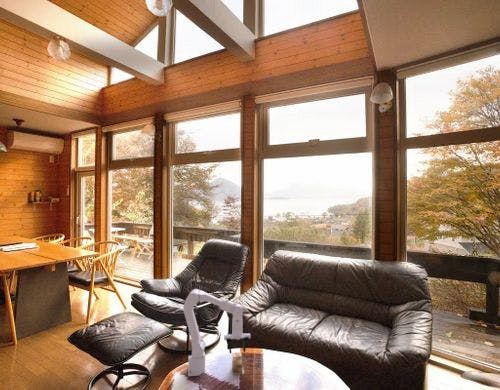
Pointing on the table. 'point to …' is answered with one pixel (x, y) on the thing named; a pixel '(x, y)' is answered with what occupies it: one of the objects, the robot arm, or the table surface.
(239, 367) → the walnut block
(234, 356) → the maple cube
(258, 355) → the table surface
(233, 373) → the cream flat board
